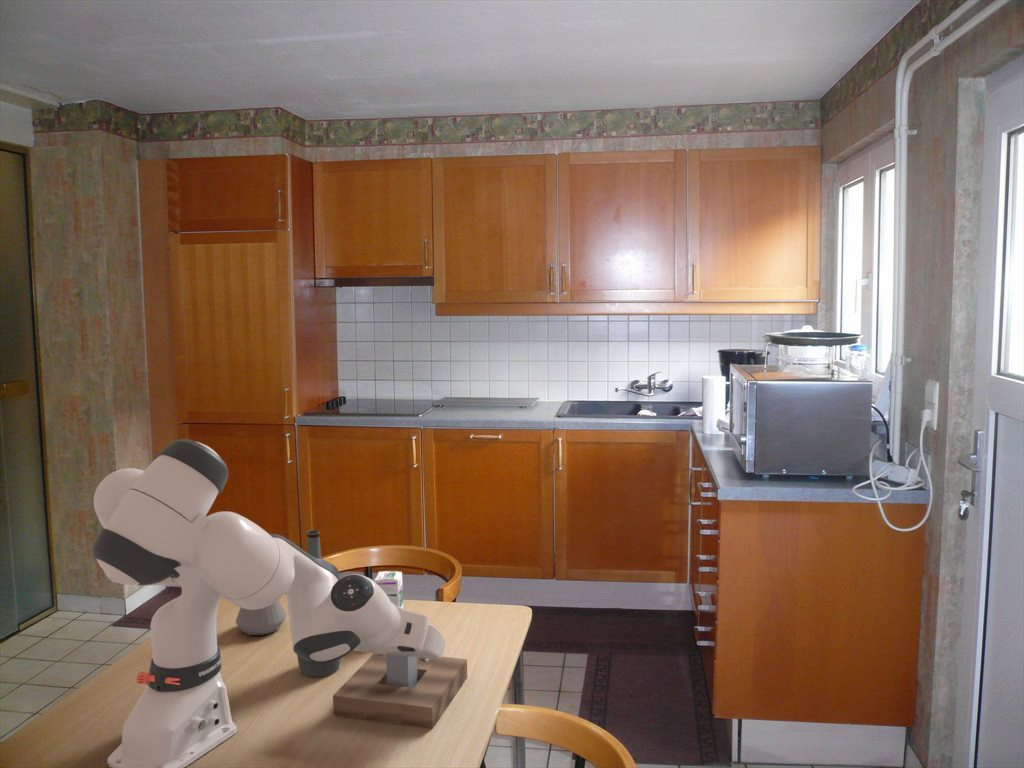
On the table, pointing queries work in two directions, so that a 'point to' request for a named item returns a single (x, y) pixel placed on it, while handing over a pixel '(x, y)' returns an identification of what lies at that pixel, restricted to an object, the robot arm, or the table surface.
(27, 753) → the table surface
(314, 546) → the bottle
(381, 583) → the syrup box
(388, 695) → the socket block
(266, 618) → the coffee pot
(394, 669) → the peg
